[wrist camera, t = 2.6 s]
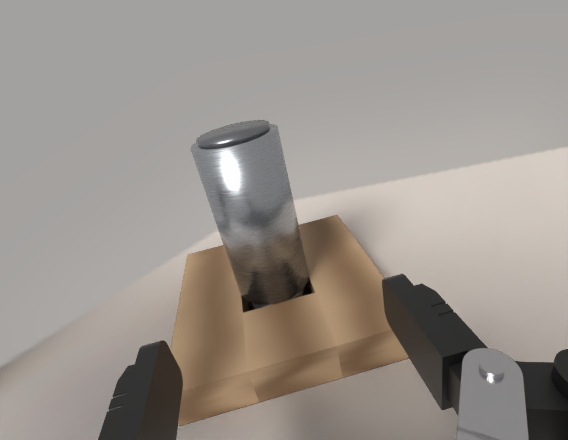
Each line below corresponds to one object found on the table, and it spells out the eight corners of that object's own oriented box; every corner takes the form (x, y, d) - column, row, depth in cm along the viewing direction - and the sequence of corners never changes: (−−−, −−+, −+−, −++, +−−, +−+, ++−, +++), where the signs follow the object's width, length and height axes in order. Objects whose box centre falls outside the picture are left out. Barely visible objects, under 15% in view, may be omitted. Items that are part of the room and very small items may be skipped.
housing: (179, 425, 21) (162, 396, 20) (196, 277, 35) (187, 254, 34) (417, 355, 22) (417, 322, 20) (340, 238, 36) (337, 214, 35)
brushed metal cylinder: (251, 342, 26) (184, 153, 19) (246, 295, 31) (192, 132, 24) (322, 322, 26) (282, 128, 19) (306, 278, 31) (270, 113, 24)
